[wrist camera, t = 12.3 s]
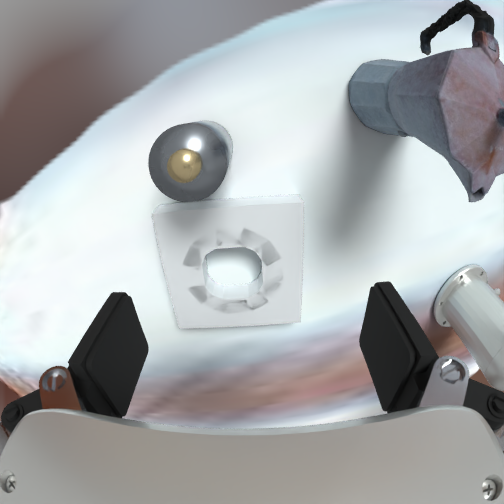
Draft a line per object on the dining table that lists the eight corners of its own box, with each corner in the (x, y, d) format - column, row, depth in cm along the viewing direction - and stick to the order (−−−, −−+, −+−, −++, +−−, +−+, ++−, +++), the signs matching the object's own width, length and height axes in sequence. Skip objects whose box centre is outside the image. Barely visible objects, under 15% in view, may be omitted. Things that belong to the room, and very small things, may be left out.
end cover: (230, 117, 28) (222, 119, 18) (235, 172, 30) (229, 203, 20) (174, 124, 28) (138, 131, 18) (181, 177, 30) (150, 210, 20)
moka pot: (346, 158, 30) (462, 228, 12) (334, 28, 23) (438, -45, 5) (416, 158, 29) (541, 220, 12) (408, 39, 22) (535, 13, 5)
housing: (298, 194, 32) (303, 202, 29) (297, 308, 39) (300, 322, 36) (159, 205, 32) (151, 213, 29) (182, 314, 39) (179, 328, 36)
